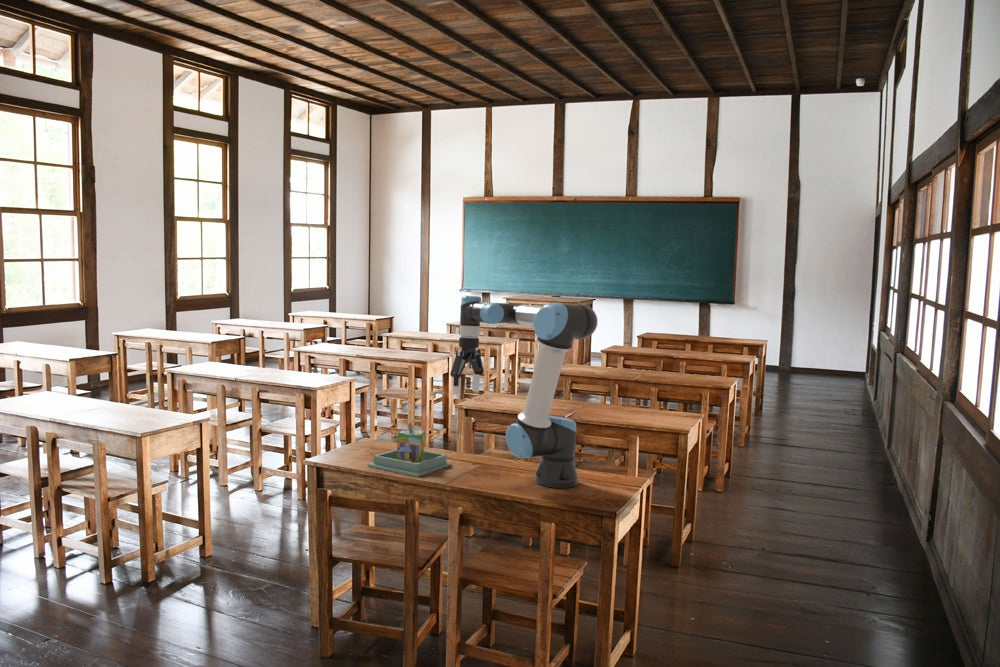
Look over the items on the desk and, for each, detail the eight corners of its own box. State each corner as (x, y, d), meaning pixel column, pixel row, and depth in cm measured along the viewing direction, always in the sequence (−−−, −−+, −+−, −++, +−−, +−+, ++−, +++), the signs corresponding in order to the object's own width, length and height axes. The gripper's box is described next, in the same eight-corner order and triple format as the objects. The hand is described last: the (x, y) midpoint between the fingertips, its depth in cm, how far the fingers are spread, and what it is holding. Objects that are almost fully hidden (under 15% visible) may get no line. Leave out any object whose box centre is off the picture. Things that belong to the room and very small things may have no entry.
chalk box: (421, 467, 270) (423, 426, 269) (395, 465, 270) (397, 424, 270) (424, 461, 279) (426, 421, 279) (399, 459, 280) (401, 420, 279)
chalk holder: (451, 465, 279) (452, 454, 279) (417, 477, 260) (417, 465, 260) (403, 456, 290) (404, 445, 289) (367, 466, 270) (367, 455, 270)
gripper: (477, 335, 294) (474, 388, 295) (442, 337, 272) (439, 395, 273) (494, 336, 290) (491, 391, 291) (460, 338, 268) (456, 397, 270)
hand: (466, 393), depth 282 cm, fingers open, 13 cm apart
